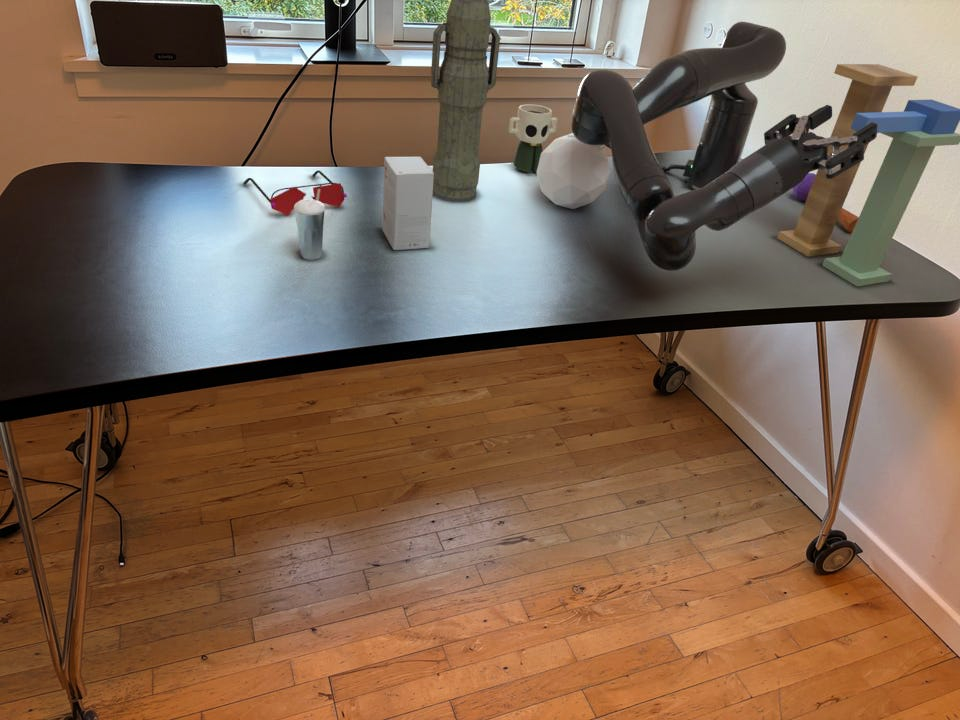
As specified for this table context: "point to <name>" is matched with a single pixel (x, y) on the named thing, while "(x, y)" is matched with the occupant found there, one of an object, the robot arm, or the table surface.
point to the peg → (913, 118)
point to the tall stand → (830, 194)
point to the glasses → (293, 195)
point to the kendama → (802, 193)
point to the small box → (407, 202)
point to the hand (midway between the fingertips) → (852, 119)
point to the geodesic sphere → (573, 172)
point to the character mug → (531, 134)
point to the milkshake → (310, 226)
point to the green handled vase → (462, 96)
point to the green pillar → (886, 206)
